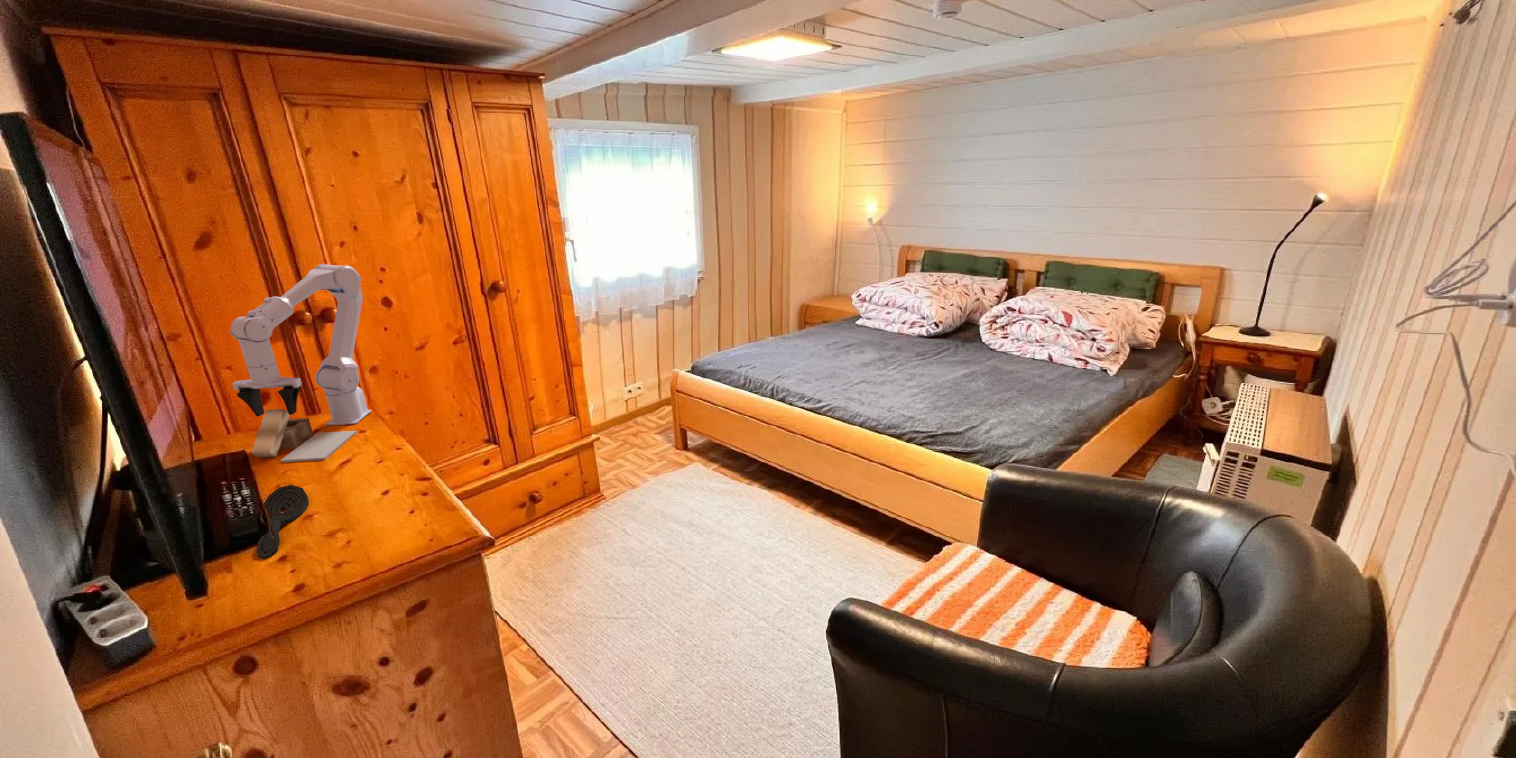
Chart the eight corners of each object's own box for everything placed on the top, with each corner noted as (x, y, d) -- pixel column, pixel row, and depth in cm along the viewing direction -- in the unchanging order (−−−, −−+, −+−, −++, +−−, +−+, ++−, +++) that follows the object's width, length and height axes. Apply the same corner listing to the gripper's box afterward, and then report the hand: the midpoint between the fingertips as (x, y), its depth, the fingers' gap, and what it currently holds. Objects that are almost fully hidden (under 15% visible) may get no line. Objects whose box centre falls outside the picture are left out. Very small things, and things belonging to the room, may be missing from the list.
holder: (281, 436, 158) (276, 419, 156) (313, 435, 159) (308, 418, 157) (261, 450, 150) (255, 433, 148) (295, 448, 151) (290, 431, 149)
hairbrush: (233, 554, 106) (261, 486, 126) (239, 570, 107) (266, 501, 127) (290, 541, 109) (308, 477, 129) (295, 557, 111) (313, 491, 131)
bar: (273, 415, 152) (266, 409, 149) (290, 414, 153) (283, 408, 150) (259, 457, 146) (251, 453, 143) (276, 456, 147) (269, 452, 144)
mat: (317, 434, 159) (316, 432, 158) (357, 432, 160) (356, 430, 160) (280, 462, 144) (280, 460, 144) (325, 459, 145) (324, 457, 145)
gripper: (217, 370, 141) (234, 422, 146) (283, 367, 143) (298, 418, 148) (237, 361, 148) (253, 411, 152) (300, 359, 150) (314, 408, 154)
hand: (276, 414), depth 150 cm, fingers open, 7 cm apart
